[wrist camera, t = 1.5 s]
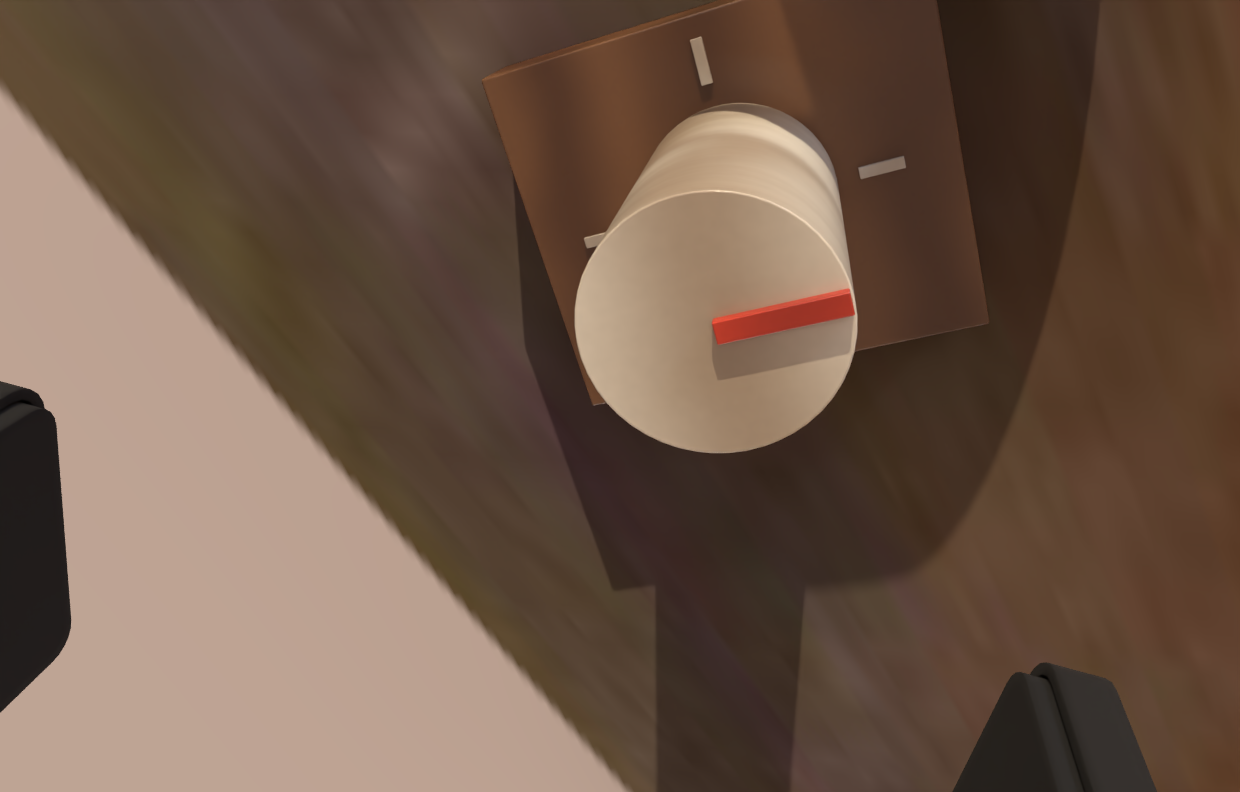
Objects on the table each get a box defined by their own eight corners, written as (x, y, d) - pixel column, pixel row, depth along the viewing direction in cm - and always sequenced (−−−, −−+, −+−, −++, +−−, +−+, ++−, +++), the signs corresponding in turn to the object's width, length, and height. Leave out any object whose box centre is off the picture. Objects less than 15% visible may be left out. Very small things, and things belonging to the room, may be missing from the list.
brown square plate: (606, 373, 39) (591, 408, 36) (504, 66, 34) (478, 80, 32) (975, 293, 35) (991, 326, 32) (916, -62, 31) (927, -60, 28)
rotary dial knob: (670, 315, 34) (617, 481, 24) (616, 133, 32) (533, 235, 22) (857, 272, 32) (883, 432, 22) (815, 77, 30) (824, 158, 20)
